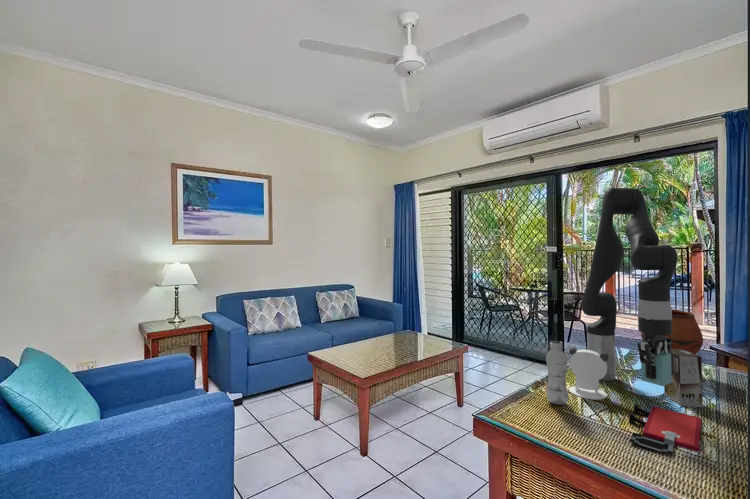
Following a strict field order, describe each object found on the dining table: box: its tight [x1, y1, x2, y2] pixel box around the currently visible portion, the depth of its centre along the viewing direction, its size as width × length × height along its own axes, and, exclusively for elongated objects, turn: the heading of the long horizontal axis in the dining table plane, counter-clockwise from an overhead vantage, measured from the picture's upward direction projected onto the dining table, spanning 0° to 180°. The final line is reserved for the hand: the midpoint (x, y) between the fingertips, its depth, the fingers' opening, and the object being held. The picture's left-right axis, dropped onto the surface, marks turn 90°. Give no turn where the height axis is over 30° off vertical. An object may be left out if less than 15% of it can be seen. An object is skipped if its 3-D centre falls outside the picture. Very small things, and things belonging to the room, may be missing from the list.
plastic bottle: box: [545, 340, 569, 406], centre depth 116 cm, size 6×7×20 cm
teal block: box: [640, 352, 672, 387], centre depth 99 cm, size 5×5×8 cm
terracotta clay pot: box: [640, 309, 704, 355], centre depth 141 cm, size 19×19×25 cm
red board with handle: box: [628, 403, 702, 456], centre depth 98 cm, size 30×3×15 cm
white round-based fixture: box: [568, 346, 609, 401], centre depth 124 cm, size 12×11×15 cm
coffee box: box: [663, 349, 704, 408], centre depth 116 cm, size 9×6×16 cm
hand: (656, 376), depth 99 cm, fingers closed on teal block, 5 cm apart
